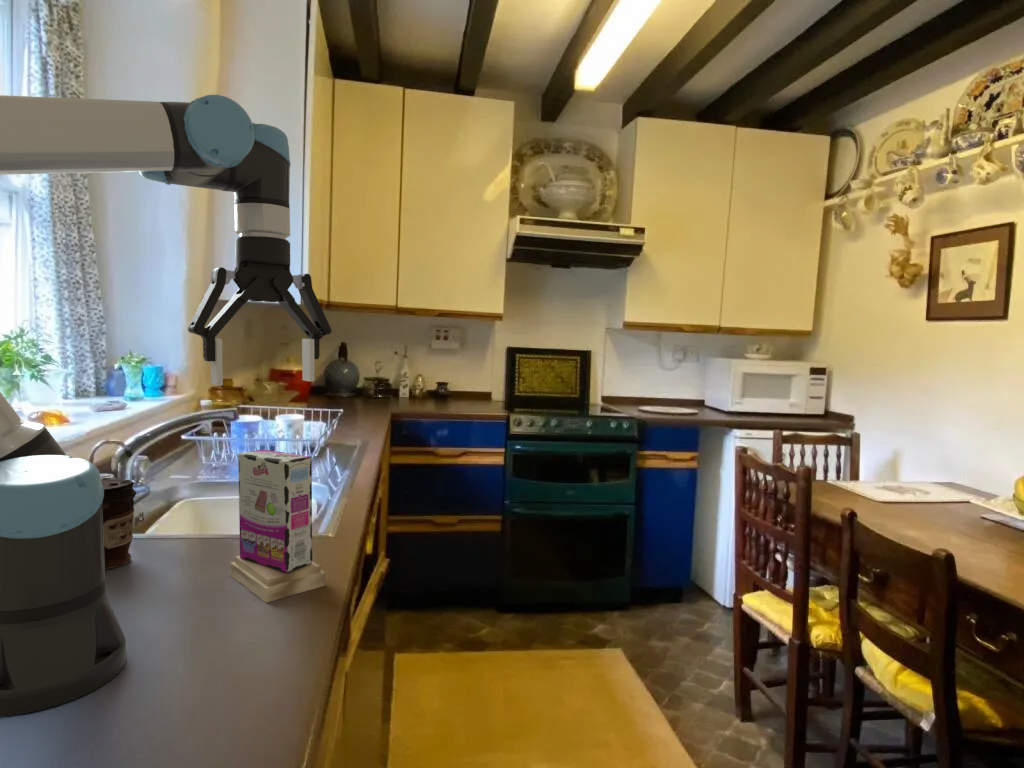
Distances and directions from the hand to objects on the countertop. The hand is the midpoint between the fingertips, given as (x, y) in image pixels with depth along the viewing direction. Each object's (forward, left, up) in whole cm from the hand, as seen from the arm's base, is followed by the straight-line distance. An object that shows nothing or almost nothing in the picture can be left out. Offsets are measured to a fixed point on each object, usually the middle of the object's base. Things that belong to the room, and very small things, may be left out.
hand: (264, 382), depth 96 cm
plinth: (+1, -2, -30) cm, 30 cm away
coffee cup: (-16, +22, -30) cm, 41 cm away
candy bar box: (+1, -2, -27) cm, 27 cm away
